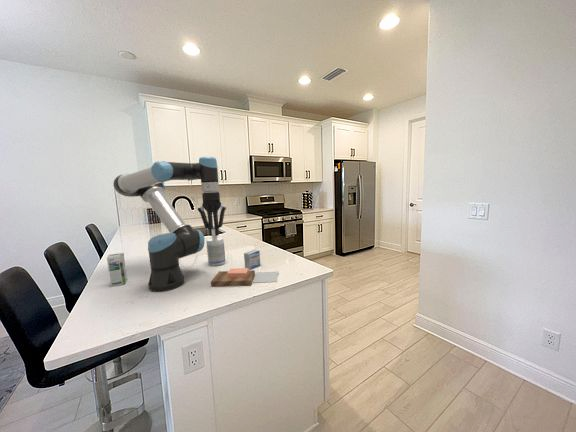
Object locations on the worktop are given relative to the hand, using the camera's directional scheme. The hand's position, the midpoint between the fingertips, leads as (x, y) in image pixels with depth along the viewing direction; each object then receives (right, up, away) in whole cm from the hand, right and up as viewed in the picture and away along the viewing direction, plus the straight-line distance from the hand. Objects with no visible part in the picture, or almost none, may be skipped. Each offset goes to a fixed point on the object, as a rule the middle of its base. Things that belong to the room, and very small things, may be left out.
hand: (215, 242), depth 110 cm
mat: (+24, -17, +4) cm, 30 cm away
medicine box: (+15, -16, +19) cm, 29 cm away
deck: (+9, -18, +2) cm, 20 cm away
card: (+10, -16, +2) cm, 19 cm away
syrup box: (-47, -20, +4) cm, 52 cm away
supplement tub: (-7, -16, +27) cm, 32 cm away
